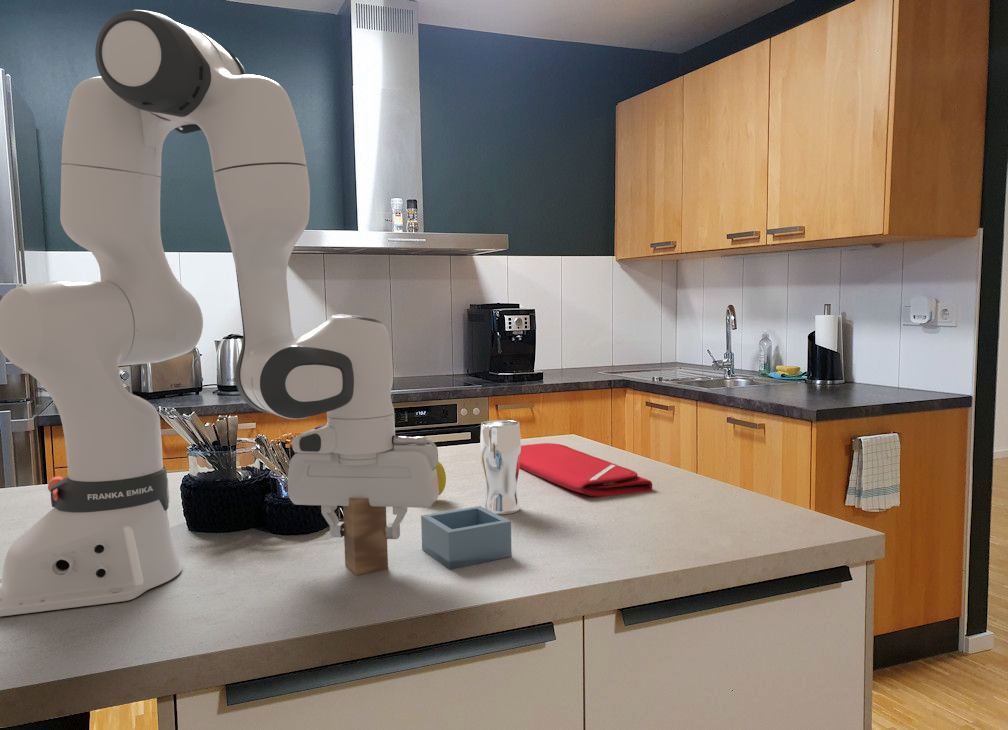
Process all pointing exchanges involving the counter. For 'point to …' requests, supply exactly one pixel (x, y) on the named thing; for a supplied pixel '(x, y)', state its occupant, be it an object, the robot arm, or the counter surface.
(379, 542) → the walnut block
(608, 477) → the red folded towel
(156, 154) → the robot arm
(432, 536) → the open box
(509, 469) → the beer glass
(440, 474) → the lemon
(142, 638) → the counter surface
